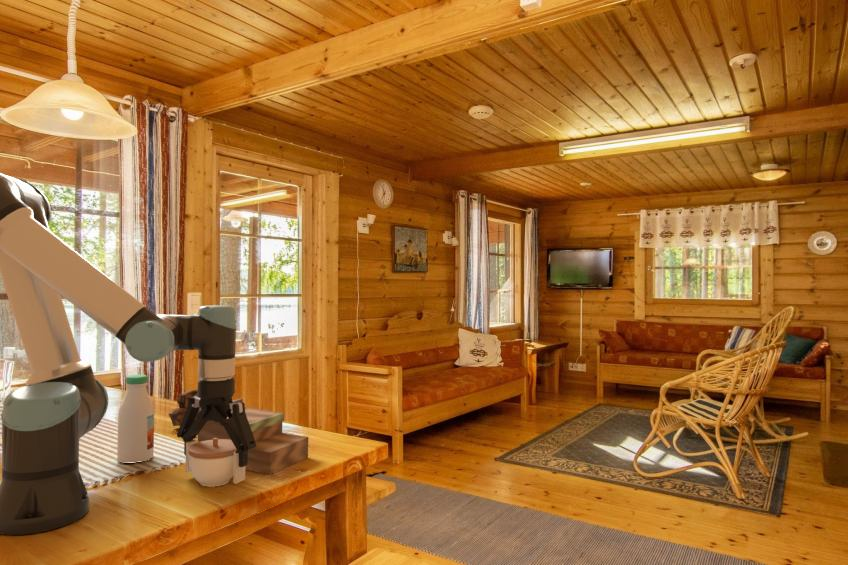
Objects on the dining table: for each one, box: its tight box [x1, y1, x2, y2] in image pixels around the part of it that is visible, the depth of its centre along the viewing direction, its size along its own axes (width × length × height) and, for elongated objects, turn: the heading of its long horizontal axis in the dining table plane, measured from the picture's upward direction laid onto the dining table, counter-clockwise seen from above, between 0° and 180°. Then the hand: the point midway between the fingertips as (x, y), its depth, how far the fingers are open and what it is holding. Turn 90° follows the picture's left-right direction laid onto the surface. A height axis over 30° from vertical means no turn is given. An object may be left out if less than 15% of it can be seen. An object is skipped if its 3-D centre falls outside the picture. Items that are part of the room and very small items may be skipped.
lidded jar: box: [188, 438, 237, 488], centre depth 124 cm, size 11×11×9 cm
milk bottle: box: [116, 374, 155, 462], centre depth 137 cm, size 8×8×20 cm
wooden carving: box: [168, 389, 201, 427], centre depth 170 cm, size 16×5×10 cm, turn 162°
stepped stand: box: [197, 398, 309, 475], centre depth 140 cm, size 14×22×12 cm, turn 65°
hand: (214, 476), depth 124 cm, fingers open, 13 cm apart
